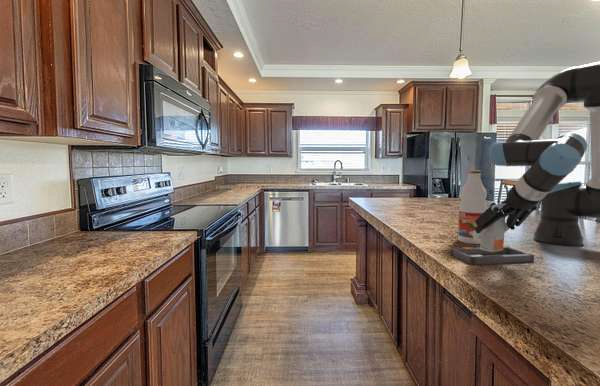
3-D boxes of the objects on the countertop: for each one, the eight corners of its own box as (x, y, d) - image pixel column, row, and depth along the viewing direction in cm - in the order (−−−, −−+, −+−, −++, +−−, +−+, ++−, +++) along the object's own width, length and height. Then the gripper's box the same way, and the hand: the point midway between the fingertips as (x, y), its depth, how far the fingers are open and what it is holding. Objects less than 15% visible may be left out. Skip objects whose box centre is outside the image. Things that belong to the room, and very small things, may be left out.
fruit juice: (490, 243, 123) (494, 170, 121) (468, 245, 122) (471, 170, 119) (473, 238, 132) (476, 170, 130) (452, 239, 131) (455, 170, 128)
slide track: (506, 251, 112) (507, 245, 112) (533, 261, 101) (534, 254, 101) (450, 254, 109) (450, 247, 109) (471, 264, 99) (472, 257, 98)
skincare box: (492, 252, 101) (494, 215, 100) (479, 249, 105) (481, 213, 104) (504, 250, 104) (506, 213, 103) (491, 247, 108) (492, 212, 107)
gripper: (502, 203, 87) (461, 247, 104) (567, 201, 89) (517, 244, 107) (488, 182, 91) (452, 228, 109) (551, 181, 94) (505, 226, 111)
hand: (484, 236), depth 108 cm, fingers closed on skincare box, 7 cm apart
